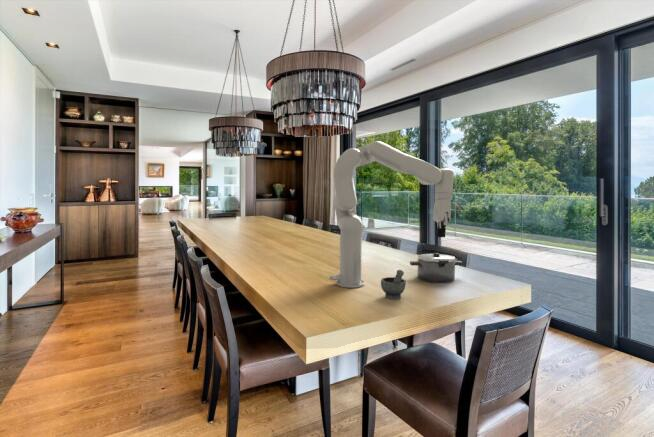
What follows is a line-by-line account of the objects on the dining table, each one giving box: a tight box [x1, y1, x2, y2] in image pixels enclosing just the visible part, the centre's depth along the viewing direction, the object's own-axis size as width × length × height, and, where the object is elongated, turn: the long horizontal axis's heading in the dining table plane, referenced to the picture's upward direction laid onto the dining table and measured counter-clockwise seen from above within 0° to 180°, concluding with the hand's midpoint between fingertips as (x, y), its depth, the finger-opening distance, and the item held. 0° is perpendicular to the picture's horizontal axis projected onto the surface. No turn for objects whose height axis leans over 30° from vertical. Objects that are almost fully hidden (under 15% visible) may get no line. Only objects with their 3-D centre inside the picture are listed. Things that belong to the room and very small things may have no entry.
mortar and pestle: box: [380, 269, 407, 301], centre depth 140 cm, size 11×9×12 cm
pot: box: [409, 258, 464, 284], centre depth 171 cm, size 25×18×9 cm
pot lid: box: [417, 252, 456, 263], centre depth 169 cm, size 17×19×3 cm
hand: (441, 236), depth 162 cm, fingers closed
